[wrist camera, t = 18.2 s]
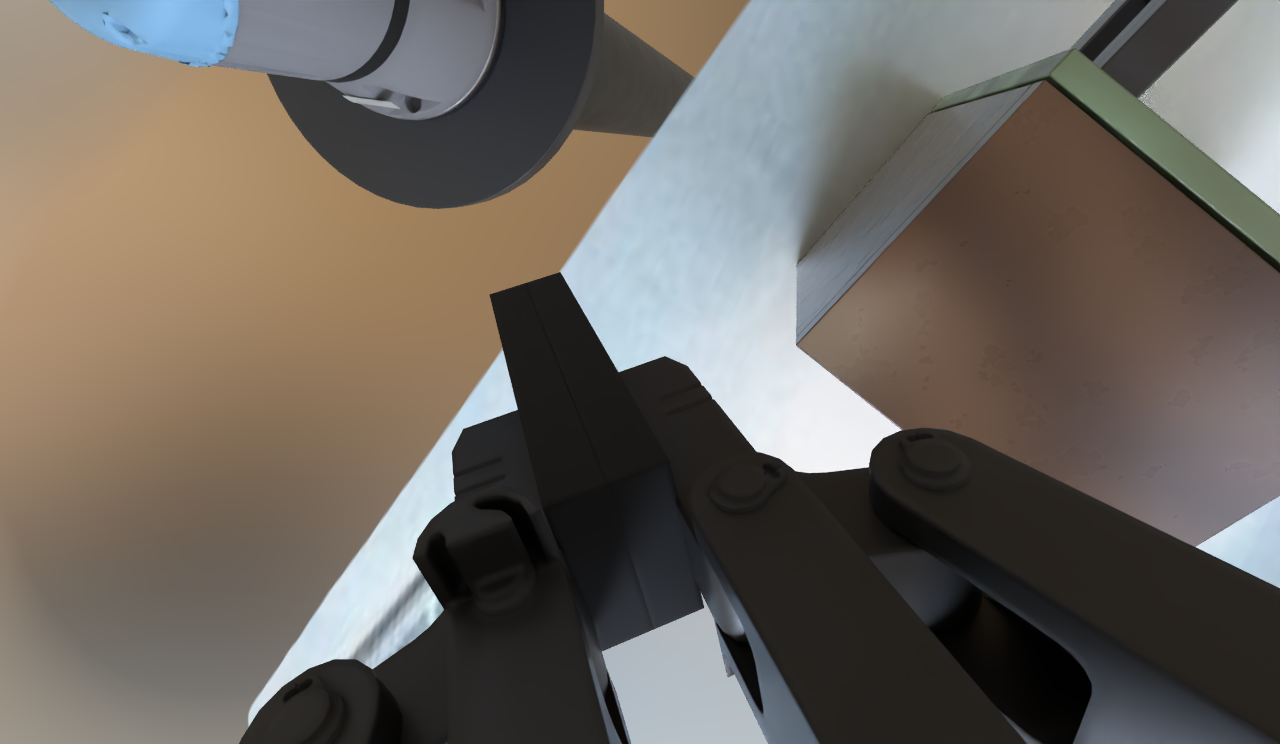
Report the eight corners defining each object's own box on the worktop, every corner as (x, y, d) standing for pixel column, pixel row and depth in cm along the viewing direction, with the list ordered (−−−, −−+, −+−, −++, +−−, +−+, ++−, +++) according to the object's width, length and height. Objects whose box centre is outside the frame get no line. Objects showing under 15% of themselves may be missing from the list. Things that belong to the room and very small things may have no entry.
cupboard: (928, 113, 37) (1045, 79, 19) (1138, 284, 37) (1437, 401, 20) (796, 265, 42) (795, 345, 24) (982, 414, 42) (1111, 598, 25)
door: (1016, 12, 34) (1238, -130, 17) (1244, 197, 34) (1687, 243, 17) (931, 110, 36) (1048, 74, 19) (1143, 282, 37) (1441, 394, 20)
